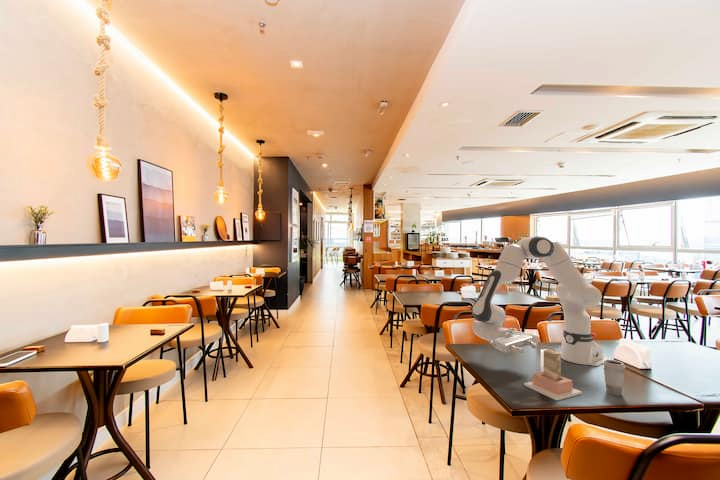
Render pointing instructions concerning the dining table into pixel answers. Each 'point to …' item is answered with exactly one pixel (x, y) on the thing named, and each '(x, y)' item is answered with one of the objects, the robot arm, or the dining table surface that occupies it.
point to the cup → (614, 376)
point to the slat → (552, 365)
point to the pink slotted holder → (552, 387)
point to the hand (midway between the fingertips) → (529, 348)
